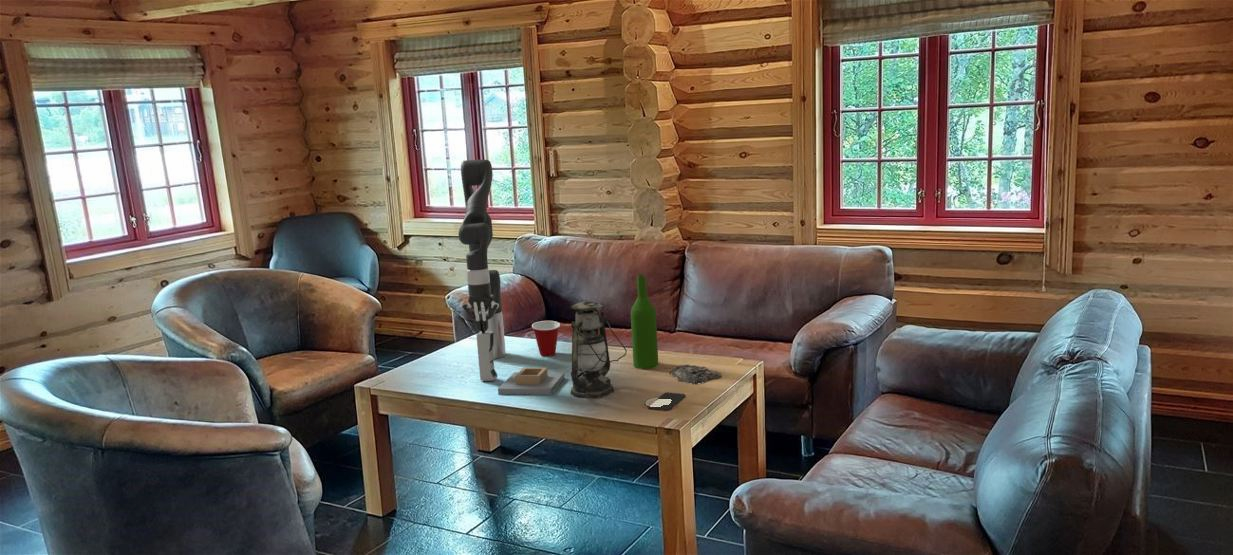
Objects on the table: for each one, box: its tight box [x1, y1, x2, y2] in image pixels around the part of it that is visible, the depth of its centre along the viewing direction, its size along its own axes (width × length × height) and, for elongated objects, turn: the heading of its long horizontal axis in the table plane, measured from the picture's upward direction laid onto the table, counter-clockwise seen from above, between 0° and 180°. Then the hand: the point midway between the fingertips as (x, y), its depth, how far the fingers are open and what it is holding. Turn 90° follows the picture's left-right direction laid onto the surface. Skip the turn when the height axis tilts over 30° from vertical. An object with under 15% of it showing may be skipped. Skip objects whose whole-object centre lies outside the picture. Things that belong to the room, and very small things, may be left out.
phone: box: [647, 391, 686, 412], centre depth 276 cm, size 7×1×15 cm
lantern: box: [569, 300, 627, 399], centre depth 287 cm, size 19×19×30 cm
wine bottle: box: [630, 274, 659, 370], centre depth 313 cm, size 9×9×32 cm
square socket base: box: [497, 367, 566, 396], centre depth 300 cm, size 18×18×5 cm
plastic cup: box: [531, 320, 561, 357], centre depth 337 cm, size 11×11×12 cm
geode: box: [669, 364, 723, 385], centre depth 300 cm, size 19×4×15 cm
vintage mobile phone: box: [476, 312, 498, 382], centre depth 307 cm, size 4×5×25 cm
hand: (483, 330), depth 306 cm, fingers closed on vintage mobile phone, 1 cm apart
